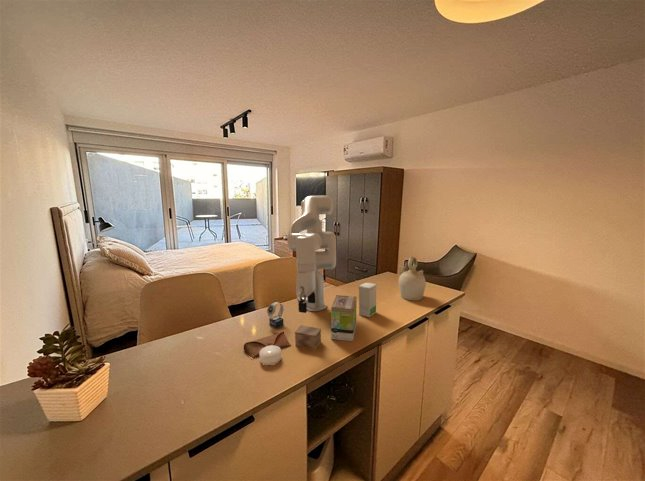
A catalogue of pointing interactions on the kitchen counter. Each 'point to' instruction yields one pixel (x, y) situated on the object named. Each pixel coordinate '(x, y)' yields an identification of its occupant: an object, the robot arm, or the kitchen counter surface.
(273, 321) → the watch
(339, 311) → the tea box
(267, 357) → the cream white dome
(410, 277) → the jug
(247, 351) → the sunglasses case
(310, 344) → the walnut box
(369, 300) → the skincare box
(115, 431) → the kitchen counter surface
